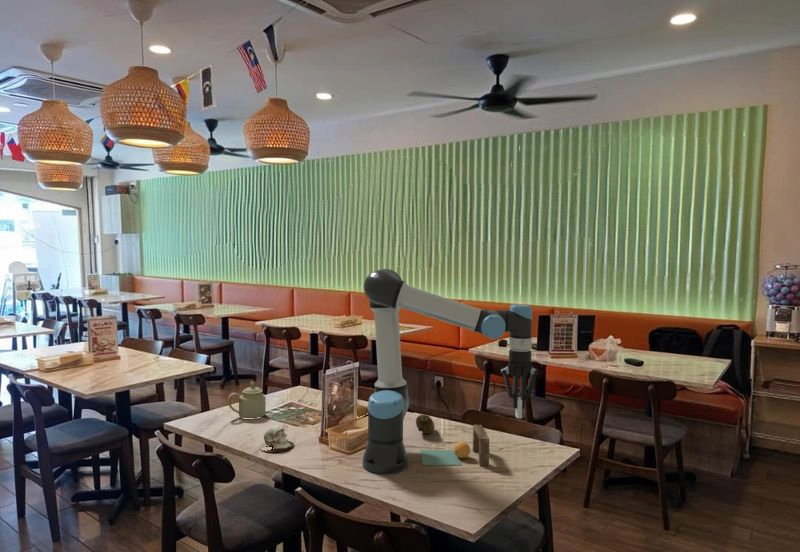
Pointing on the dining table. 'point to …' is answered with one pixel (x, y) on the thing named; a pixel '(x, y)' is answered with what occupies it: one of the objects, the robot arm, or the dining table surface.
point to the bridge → (481, 444)
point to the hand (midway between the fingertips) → (518, 417)
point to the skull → (277, 439)
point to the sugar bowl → (250, 402)
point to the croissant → (361, 410)
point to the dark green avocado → (424, 423)
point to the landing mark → (439, 457)
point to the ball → (461, 449)
